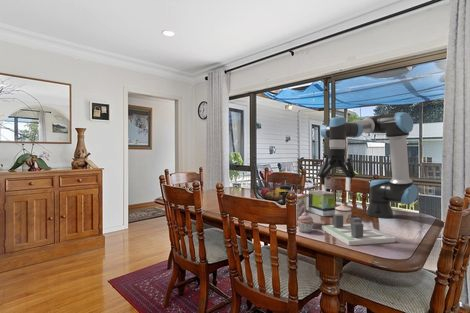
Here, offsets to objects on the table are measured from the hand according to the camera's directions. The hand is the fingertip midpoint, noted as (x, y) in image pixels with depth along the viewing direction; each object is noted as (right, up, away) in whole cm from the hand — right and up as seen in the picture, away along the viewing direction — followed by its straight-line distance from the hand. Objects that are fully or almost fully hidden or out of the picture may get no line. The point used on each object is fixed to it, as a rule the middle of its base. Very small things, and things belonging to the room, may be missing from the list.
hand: (336, 190), depth 135 cm
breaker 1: (+3, -19, +7) cm, 21 cm away
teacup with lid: (+12, -22, +21) cm, 32 cm away
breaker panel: (+10, -22, 0) cm, 24 cm away
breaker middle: (+10, -20, 0) cm, 22 cm away
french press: (-16, -20, +54) cm, 60 cm away
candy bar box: (-14, -22, +21) cm, 33 cm away
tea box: (+7, -21, +44) cm, 49 cm away
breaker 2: (+6, -20, -9) cm, 23 cm away
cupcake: (-14, -22, +7) cm, 27 cm away
